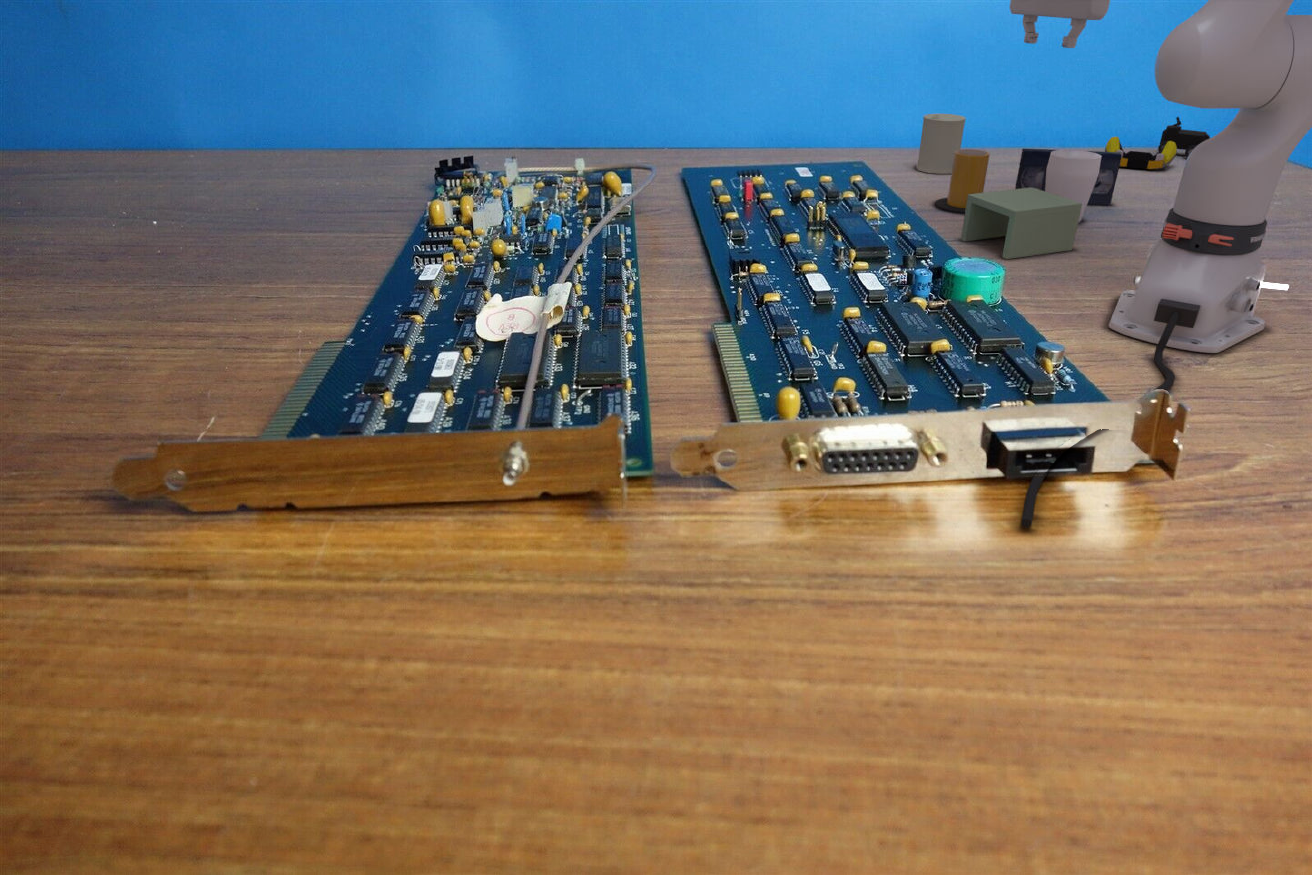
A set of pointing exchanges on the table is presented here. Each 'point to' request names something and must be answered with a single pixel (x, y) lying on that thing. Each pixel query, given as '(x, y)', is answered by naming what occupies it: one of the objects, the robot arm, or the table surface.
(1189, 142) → the toy vehicle
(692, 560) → the table surface
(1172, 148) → the gaming controller
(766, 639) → the table surface
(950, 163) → the can
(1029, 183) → the vhs cassette tape
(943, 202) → the mat
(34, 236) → the table surface
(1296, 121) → the robot arm
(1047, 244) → the shelf
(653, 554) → the table surface
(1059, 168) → the cup
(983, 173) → the tumbler
